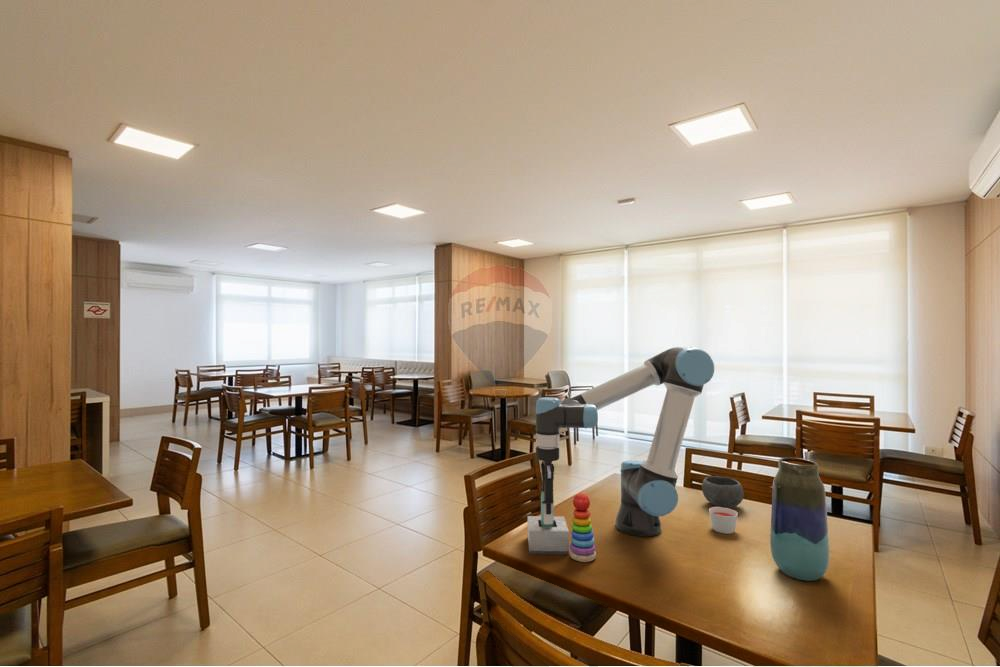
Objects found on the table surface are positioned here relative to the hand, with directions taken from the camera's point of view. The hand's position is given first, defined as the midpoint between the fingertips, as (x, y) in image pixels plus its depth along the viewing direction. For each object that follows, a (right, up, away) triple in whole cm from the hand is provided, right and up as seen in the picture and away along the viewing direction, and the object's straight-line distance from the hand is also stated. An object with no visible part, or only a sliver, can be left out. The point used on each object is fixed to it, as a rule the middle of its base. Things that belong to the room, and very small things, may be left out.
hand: (547, 520), depth 145 cm
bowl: (+74, -10, +37) cm, 83 cm away
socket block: (0, -8, 0) cm, 8 cm away
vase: (+69, -8, -17) cm, 71 cm away
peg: (0, -6, 0) cm, 6 cm away
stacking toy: (+10, -8, -8) cm, 15 cm away
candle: (+62, -9, +13) cm, 64 cm away
